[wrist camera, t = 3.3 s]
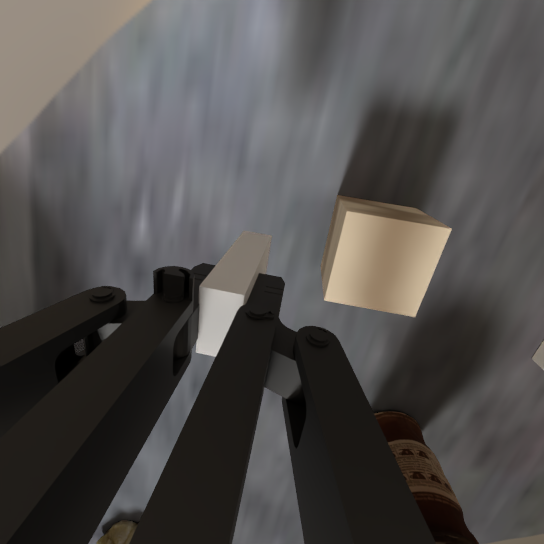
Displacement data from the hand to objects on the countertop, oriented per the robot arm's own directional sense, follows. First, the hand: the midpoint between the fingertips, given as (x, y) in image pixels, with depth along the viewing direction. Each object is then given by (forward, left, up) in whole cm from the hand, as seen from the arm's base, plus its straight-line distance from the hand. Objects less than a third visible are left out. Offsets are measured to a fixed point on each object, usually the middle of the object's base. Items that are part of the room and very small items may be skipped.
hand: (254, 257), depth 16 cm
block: (+8, 0, -9) cm, 12 cm away
